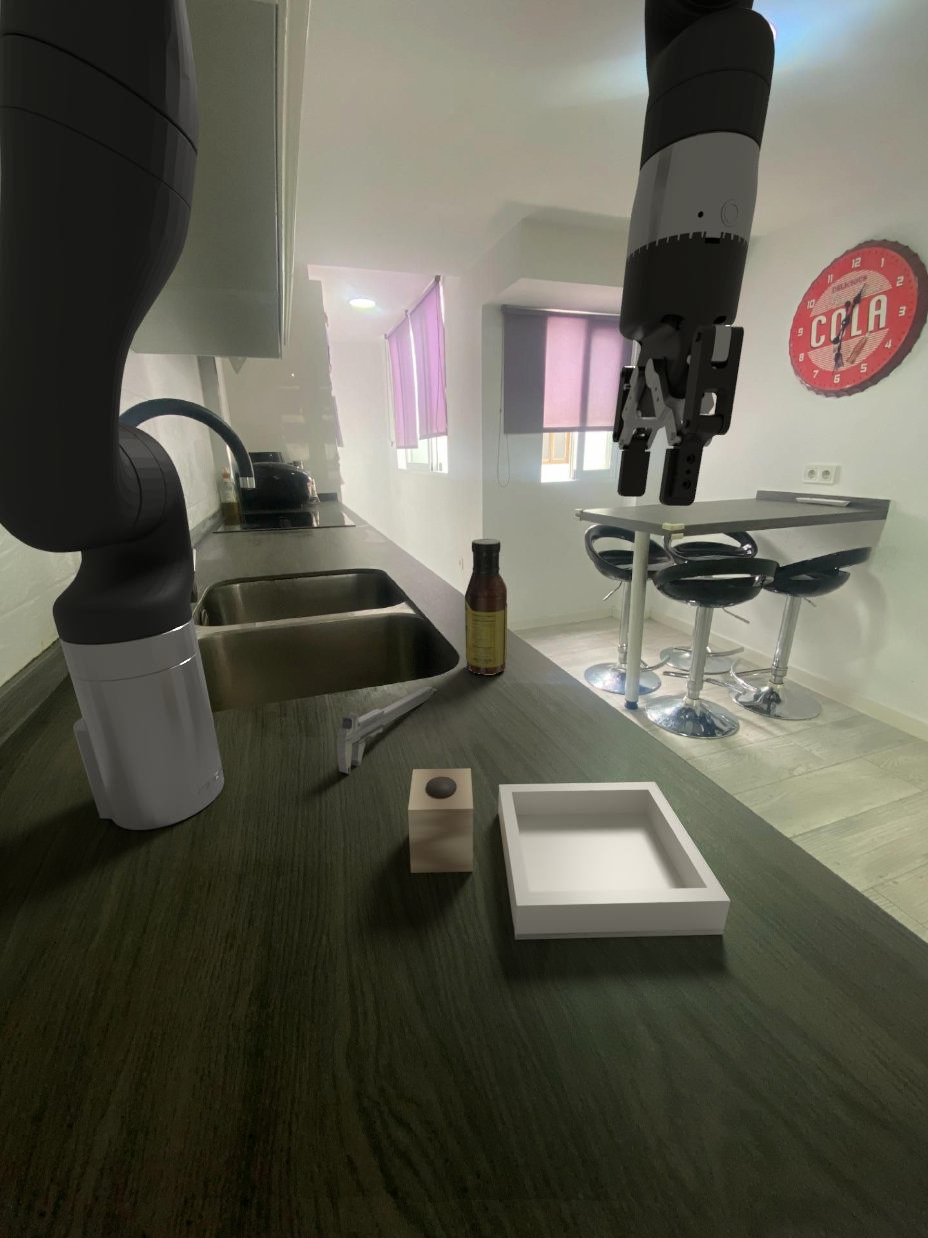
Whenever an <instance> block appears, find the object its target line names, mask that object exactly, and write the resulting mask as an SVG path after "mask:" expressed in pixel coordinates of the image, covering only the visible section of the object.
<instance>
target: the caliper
mask: <svg viewBox="0 0 928 1238" xmlns="http://www.w3.org/2000/svg"><path fill="white" fill-rule="evenodd" d="M435 690H437V688H434V687H433V686H428V685H426V686H424V687H422V688H419V689H418V690H416V691H414V692H413V693H411V694H408V695H406V696H405V697H403V698H400V699H399V700H397V701H395V702H393V703H392V704H389V705H388V706H386V707H384V708H382V709H379V708H375V709H373V710H371V711H369V712H367V713H365V714H363V715H361V716H360V715H359V713H355V712H352V711H350V712H349V714H348V716H346V715H343V716H342V723H341V724H342V726H341V727H339V728H338V733H337V743H336V752H337V753H336V754H337V762H338V763H337V764H338V770H339V772H341V773H343V774H346V775H347V774H348V775H350V774H351V768H352V767H351V766H354V767H359V766H360V765H361V764H362V759H363V755H364V751H365V746H366V742H367V739H368V738H370V739H371V738H376V737H377V736H378V735H381V734H383V732H384V727H385V725H386V726H387V724H389V723H391V722H392V721H394V720H395V719H398V718H400V717H401V716H402V715H405V714H406V713H408V712H409V711H412V710H413V709H415V708H416V707H418V706H420V705H421V704H422V705H423V703H425V702H427V701H428V700H429V699H430V698H431V697H432V696H433V694H435V693H434V691H435ZM431 695H432V696H431ZM430 696H431V697H430ZM429 697H430V698H429ZM428 698H429V699H428ZM427 699H428V700H427ZM426 700H427V701H426Z"/></svg>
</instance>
